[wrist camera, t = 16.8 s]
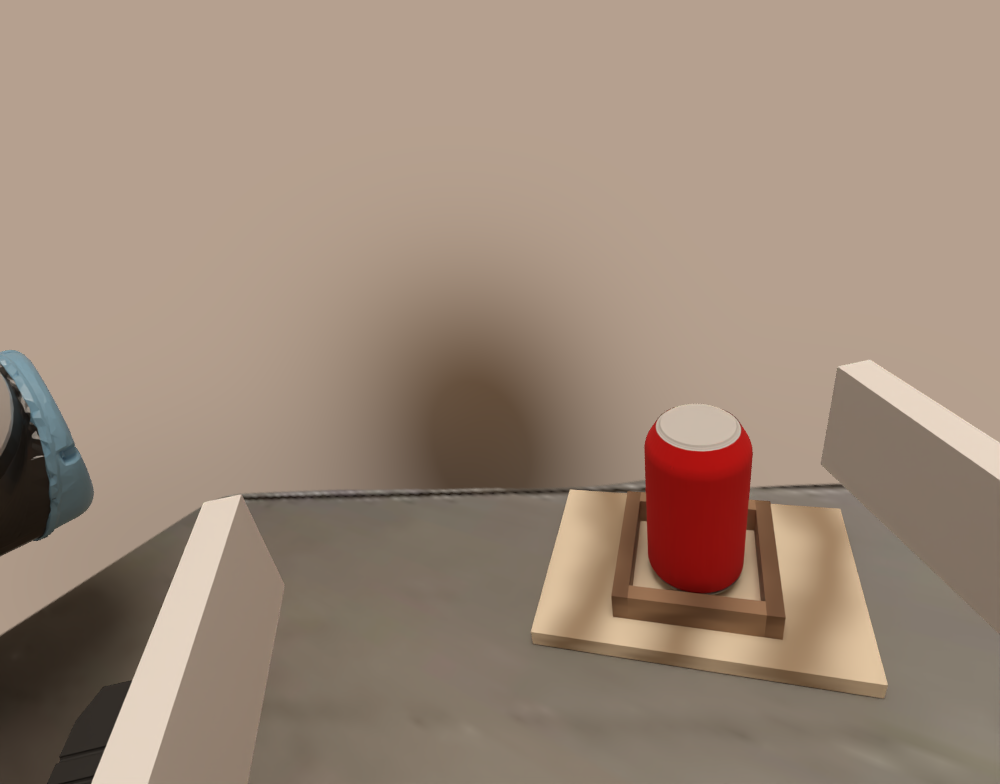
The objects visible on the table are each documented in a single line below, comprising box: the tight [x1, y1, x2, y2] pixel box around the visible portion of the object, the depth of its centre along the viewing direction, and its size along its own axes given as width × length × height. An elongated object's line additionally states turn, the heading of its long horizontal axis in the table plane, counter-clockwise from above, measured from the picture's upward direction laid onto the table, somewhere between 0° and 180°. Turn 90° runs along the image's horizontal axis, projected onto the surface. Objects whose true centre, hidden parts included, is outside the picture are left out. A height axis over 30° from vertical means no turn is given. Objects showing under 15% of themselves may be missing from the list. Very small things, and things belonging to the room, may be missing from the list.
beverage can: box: [645, 404, 753, 595], centre depth 38 cm, size 6×6×12 cm
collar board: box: [531, 490, 888, 698], centre depth 41 cm, size 20×14×3 cm
